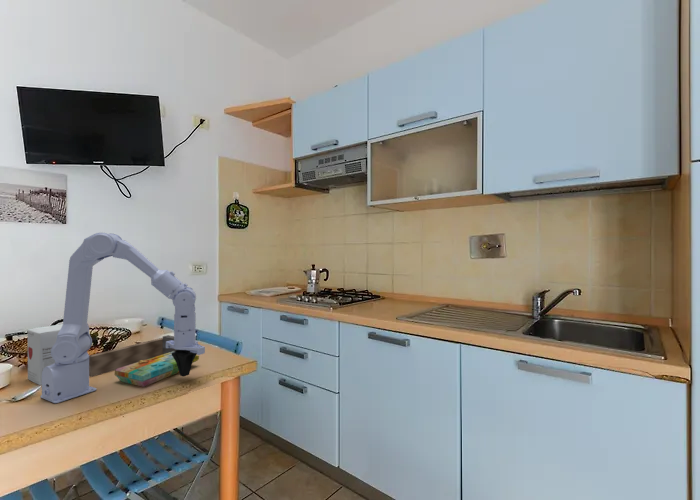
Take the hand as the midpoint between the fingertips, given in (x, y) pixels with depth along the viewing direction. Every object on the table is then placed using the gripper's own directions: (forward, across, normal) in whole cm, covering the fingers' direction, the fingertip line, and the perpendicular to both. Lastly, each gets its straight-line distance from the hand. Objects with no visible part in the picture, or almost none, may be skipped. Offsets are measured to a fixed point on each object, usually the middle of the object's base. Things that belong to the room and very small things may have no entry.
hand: (184, 375), depth 104 cm
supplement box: (+2, +37, +17) cm, 40 cm away
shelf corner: (+2, +23, -1) cm, 23 cm away
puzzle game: (+2, +12, 0) cm, 12 cm away
